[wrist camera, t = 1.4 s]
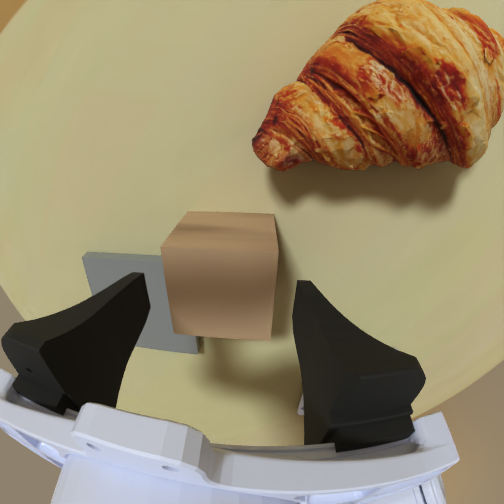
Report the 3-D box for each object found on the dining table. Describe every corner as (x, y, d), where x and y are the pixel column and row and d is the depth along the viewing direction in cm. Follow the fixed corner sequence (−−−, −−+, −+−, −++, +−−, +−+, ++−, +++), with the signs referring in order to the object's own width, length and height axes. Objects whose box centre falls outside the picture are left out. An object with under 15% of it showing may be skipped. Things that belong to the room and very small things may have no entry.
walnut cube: (268, 286, 18) (270, 340, 13) (193, 283, 18) (174, 333, 13) (273, 213, 16) (278, 251, 11) (188, 211, 16) (160, 246, 11)
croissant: (454, 28, 11) (477, -31, 3) (529, 125, 10) (582, 87, 2) (236, 118, 16) (176, 45, 8) (318, 257, 15) (312, 267, 7)
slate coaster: (199, 347, 20) (198, 354, 20) (111, 335, 21) (108, 341, 20) (190, 257, 17) (187, 263, 16) (87, 252, 17) (81, 257, 16)
